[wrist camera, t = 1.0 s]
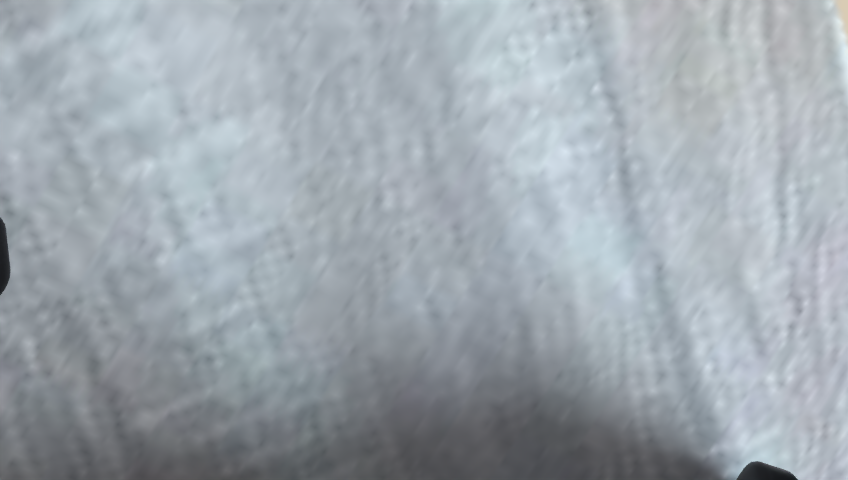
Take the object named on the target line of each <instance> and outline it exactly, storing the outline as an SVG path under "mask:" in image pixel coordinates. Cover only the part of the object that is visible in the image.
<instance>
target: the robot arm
mask: <svg viewBox="0 0 848 480" xmlns="http://www.w3.org/2000/svg"><path fill="white" fill-rule="evenodd" d="M9 278H10V262H9V253H8V244H7V235H6V227H5V224H4V222H3V220H2V219H1V218H0V295H1V294H2V292H3V291H4V289H5V288H6V286H7V284H8V281H9ZM736 480H798V479H797V478H796V477H795V476H794V475H793V474H792V473H790V472H788V471H786V470H784V469H780V468H777V467H774V466H771V465H768V464H765V463H762V462H758V461H756V462H751V463H749V464H748V465H747V466H746V467H745V468H744V469H743V471H742V472H741V473H740V475H739V476H738V478H737V479H736Z"/></svg>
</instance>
